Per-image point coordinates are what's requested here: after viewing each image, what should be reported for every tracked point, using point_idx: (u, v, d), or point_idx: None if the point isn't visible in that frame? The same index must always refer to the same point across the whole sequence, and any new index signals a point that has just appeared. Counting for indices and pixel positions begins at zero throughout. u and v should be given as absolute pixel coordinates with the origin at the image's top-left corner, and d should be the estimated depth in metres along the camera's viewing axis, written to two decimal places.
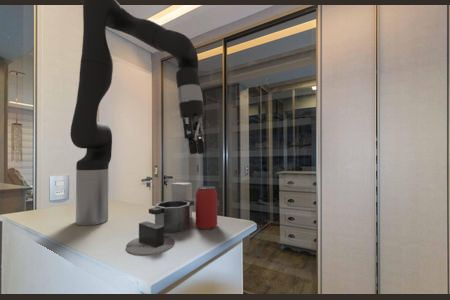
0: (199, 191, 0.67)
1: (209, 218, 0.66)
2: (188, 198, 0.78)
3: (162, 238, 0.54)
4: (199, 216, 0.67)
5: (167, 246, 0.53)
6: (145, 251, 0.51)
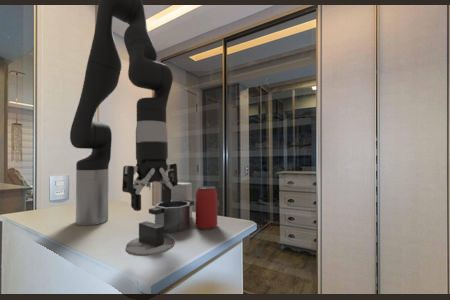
0: (199, 191, 0.67)
1: (209, 218, 0.66)
2: (188, 198, 0.78)
3: (162, 238, 0.54)
4: (199, 216, 0.67)
5: (167, 246, 0.53)
6: (145, 251, 0.51)
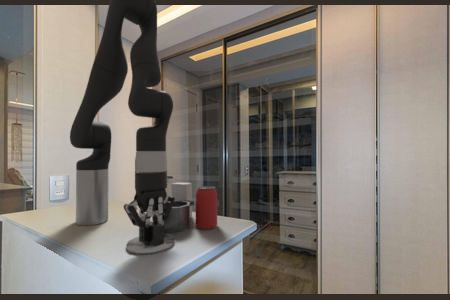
0: (199, 191, 0.67)
1: (209, 218, 0.66)
2: (188, 198, 0.78)
3: (162, 237, 0.54)
4: (199, 216, 0.67)
5: (167, 245, 0.53)
6: (145, 250, 0.51)
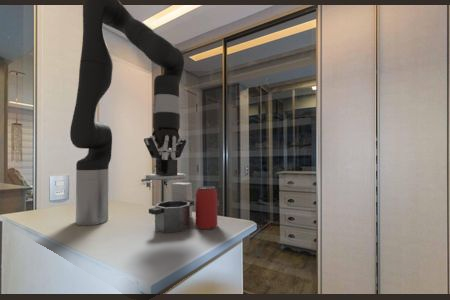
0: (199, 191, 0.67)
1: (209, 218, 0.66)
2: (188, 198, 0.78)
3: (176, 169, 0.63)
4: (199, 216, 0.67)
5: (180, 175, 0.62)
6: (162, 176, 0.60)
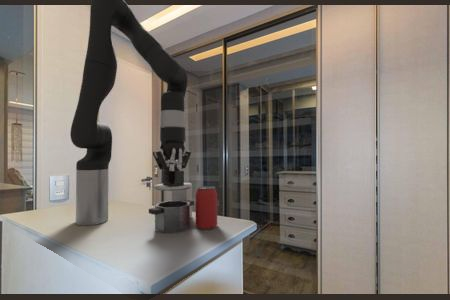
0: (199, 191, 0.67)
1: (209, 218, 0.66)
2: (188, 198, 0.78)
3: (182, 180, 0.67)
4: (199, 216, 0.67)
5: (187, 185, 0.67)
6: (170, 187, 0.64)
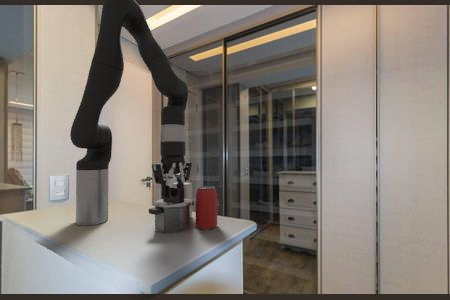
0: (199, 191, 0.67)
1: (209, 218, 0.66)
2: (188, 198, 0.78)
3: (183, 197, 0.67)
4: (199, 216, 0.67)
5: (187, 203, 0.67)
6: (170, 205, 0.64)
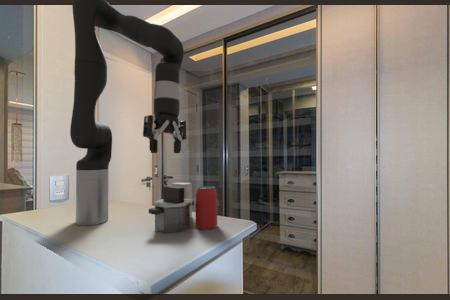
0: (199, 191, 0.67)
1: (209, 218, 0.66)
2: (188, 198, 0.78)
3: (183, 197, 0.67)
4: (199, 216, 0.67)
5: (187, 203, 0.67)
6: (170, 205, 0.64)
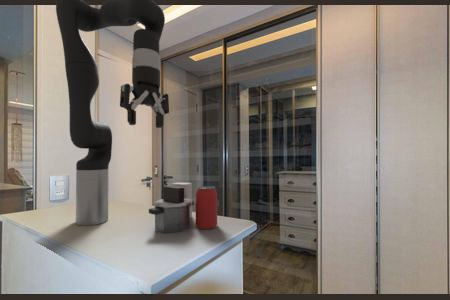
0: (199, 191, 0.67)
1: (209, 218, 0.66)
2: (188, 198, 0.78)
3: (183, 197, 0.67)
4: (199, 216, 0.67)
5: (187, 203, 0.67)
6: (170, 205, 0.64)
